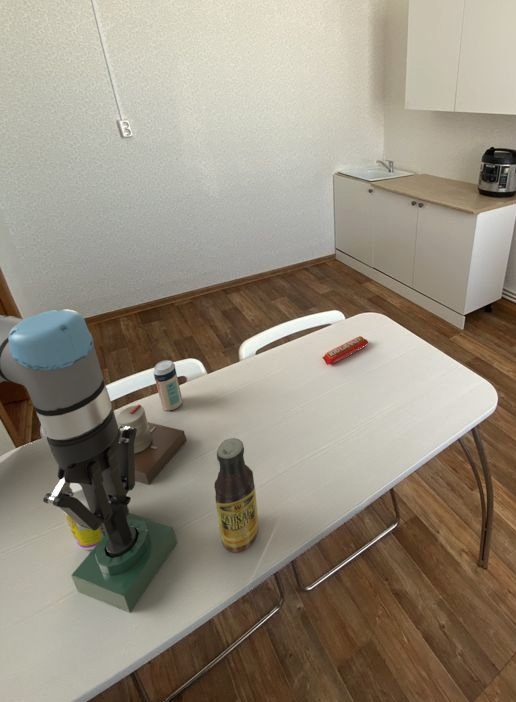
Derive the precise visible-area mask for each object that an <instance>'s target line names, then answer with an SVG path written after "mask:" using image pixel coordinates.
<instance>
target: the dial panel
mask: <svg viewBox="0 0 516 702" xmlns="http://www.w3.org/2000/svg"><path fill="white" fill-rule="evenodd" d="M148 425H149V429H150V433H151V436H152V442H151V444H150V445H149V446H148V447H147V448H146V449H144V450H143V451H141V452H138V453H134V461H135V482H137V483H141V484H145V485H147V486H150V484H152V482H154V480H155V479H156V478H157V477H158V475H159V474H160V473H161V472H162V471H163V469H164V468H166V466H167V465H168V463H170V461H171V460H172V459H173V458H174V456H175V455H176V454H177V453H178V452H179V451H180V450H181V448H182V447H183V446H184V445H185V444H186V443H187V436H186V431H185V430H183V429H179V428H174V427H170V426H167V425H163V424H157V423H153V422H150V421H148Z"/></svg>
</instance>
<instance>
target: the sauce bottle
mask: <svg viewBox="0 0 516 702" xmlns="http://www.w3.org/2000/svg"><path fill="white" fill-rule="evenodd" d="M244 455H245V446H244V442H243V441H242V439H240V438H239V437H230V438H227V439H225V440H223V441H222V442H220V444H219V445H218V447H217V448H216V458H217V461H218V463H219V471H218V473H217V478H216V480H215V481H214V492H215V496H214V498H215V505H216V512H217V520H218V526H219V535H220V539H221V542H222V543H221V544H222V545H223V548H224V549H225V550H227V551H228V552H232V553H240V552H243V551H245V550H247V549H248V548H249V547H250V546H251V545H252V544H253V543H254V542H255V540H256V539H257V535H258V531H259V516H258V515H259V514H258V503H257V494H256V486H255V481H254V472H253V470H252V469H251V468H250V467H249V466H248V465H247V464H246V461H245V456H244Z"/></svg>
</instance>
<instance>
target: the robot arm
mask: <svg viewBox="0 0 516 702" xmlns="http://www.w3.org/2000/svg"><path fill="white" fill-rule="evenodd" d="M101 368H102V367H101V364H100V360H99V358H98V354H97V350H96V347H95V343H94V338H93V335H92V333H91V331H90V330H89V328H88V326H87V323H86V320H85V317H84V316H83V315H82V314H81V313H80V312H78V311H76V310H72V309H61V310H57V309H55V310H54V309H53V310H47V311H43V312H40V313H37V314H34V315H32V316H29V317H26V318H25V319H23V318H21V317H17V316H14V315H0V384H1V383H3V382H8V383H13V384H17V385H22V386H24V388H25V389H26V391H27V393H28V396H29V398H30V400H31V402H32V405H33V409H34V411H35V412H36V416H37V417H38V420H39V423H40V425H41V428H42V431H43V433H44V435H45V436H46V441H47V444H48V446H49V449H50V452H51V454H52V456H53V459H54V460H55V462H56V463H57V465H58V471H57V478H58V480H59V481H58V483H57V484H56V485H55V487H54V489H53V491H48V492H47V493H46V494H45V495H44V496H43V499H42V502H43V503H45V504H48V505H52V506H54V507H57V508H59V509H61V510H62V512H63V511H64V512H65V513H66V514H67V515H69V516H70V517H71V518H72V519H73V520H74V521H75V522H76V523H77V524H79V525H80V526H82V527H84V528H87V529H90V530H93V531H95V530H97V529H98V528H99V529H100V532H101V533H103V534H106V535H108V536H109V539H110V541H112V542H115V543H118V544H121V545H125V544H126V543H127V541H128V540H129V539H130V538H131V536H132V534H131V531H130V528H129V525H128V522H127V519H126V516H127V515H128V514H129V513H130V508H129V506H128V505H129V504H130V503H131V500H132V498H131V497H130V496H127V495H128V493H129V492H131V491H132V490H133V489H134V488H135V486H136V481H135V461H134V441H135V437H136V433H137V429H136V428H133V427H129V426H124V425H122V426H120V427H118V423H117V420H116V419H117V416H116V415H115V411H114V408H113V407H112V406H113V405H112V400H111V396H110V395H109V391H108V388H107V385H106V382H105V380H104V375H103V372H102V369H101ZM70 483H78V484H79V485H81V487H82V490H83V492H84V495H85V498H86V500H87V503H88V506H89V509H90V510H89V509H88V508H86V507H85V506H84V505H83V504H82V503H81V502H80V501H79V500H78V499H77V498H75V497H72V496H73V495H74V492H72V489H71V488H70ZM109 501H111V503H109ZM64 512H63V513H64Z"/></svg>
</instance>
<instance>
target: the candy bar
mask: <svg viewBox="0 0 516 702" xmlns="http://www.w3.org/2000/svg"><path fill="white" fill-rule="evenodd" d="M368 342H369V340H368V339H366V338H364V337H363V336H361V335H360V336H357V337H355V338H352V339H350V340H348V341H346V342H344V343H342V344H341V345H339V346H337V347H335V348H333V349H331V350H329V351H327V352H326V353H325V354H324V355H323V356H322V357H321V358H322V359H323V361H324V362H325V364H326V365H327V366H329V365H331V364H332V365H334V364H336V363H338V362H340V361H342V360H344V359H345V358H344V357H346V356H348V355H349V356H351V355H352V354H351V353H353V352H355V351H357V350H358V349H360V348H362V347H363V346H365V345H366V344H367V343H368ZM367 345H368V344H367ZM367 345H366V346H367ZM362 349H363V348H362ZM357 352H358V351H357ZM355 353H356V352H355ZM350 354H351V355H350ZM353 354H354V353H353ZM349 356H348V357H349ZM343 358H344V359H343ZM346 358H347V357H346ZM341 359H342V360H341ZM339 360H340V361H339ZM337 361H338V362H337ZM335 362H336V363H335ZM333 363H334V364H333ZM332 365H331V366H332Z"/></svg>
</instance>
